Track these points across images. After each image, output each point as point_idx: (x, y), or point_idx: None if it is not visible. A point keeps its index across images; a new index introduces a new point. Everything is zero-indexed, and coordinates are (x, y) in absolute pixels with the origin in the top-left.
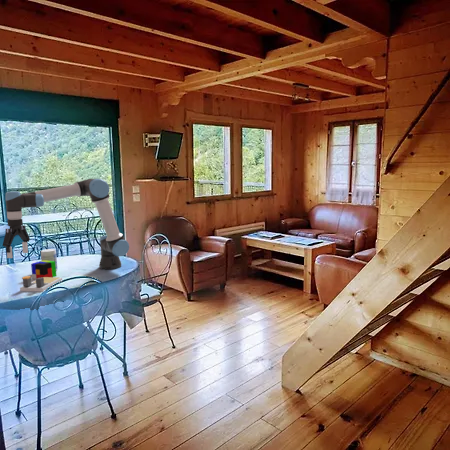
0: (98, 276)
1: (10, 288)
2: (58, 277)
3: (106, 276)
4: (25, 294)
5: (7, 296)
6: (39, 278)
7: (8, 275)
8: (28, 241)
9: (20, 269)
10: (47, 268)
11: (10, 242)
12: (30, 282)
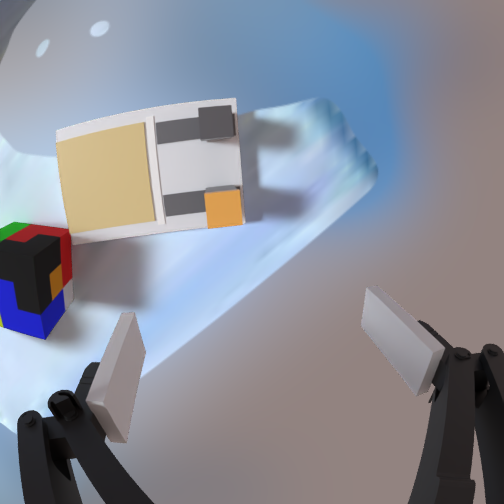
0: (6, 33)
1: (214, 293)
2: (57, 148)
3: (10, 7)
4: (284, 159)
5: (317, 222)
6: (216, 123)
7: None
8: (66, 393)
9: (32, 402)
10: (24, 243)
11: (469, 385)
12: (211, 189)
